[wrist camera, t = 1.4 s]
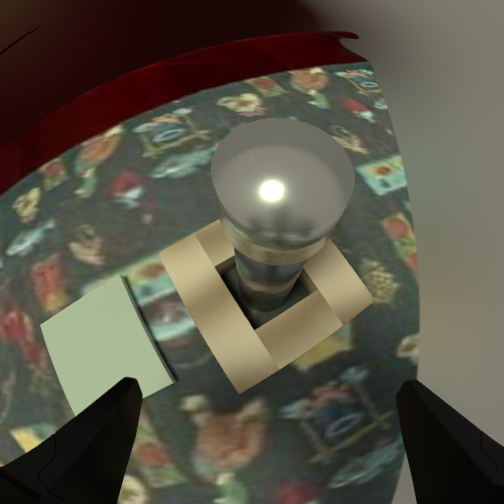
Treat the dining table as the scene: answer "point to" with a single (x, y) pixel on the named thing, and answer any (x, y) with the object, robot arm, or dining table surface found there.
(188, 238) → the socket block
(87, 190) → the dining table surface
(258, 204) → the dome-ended metal peg
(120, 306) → the pad
